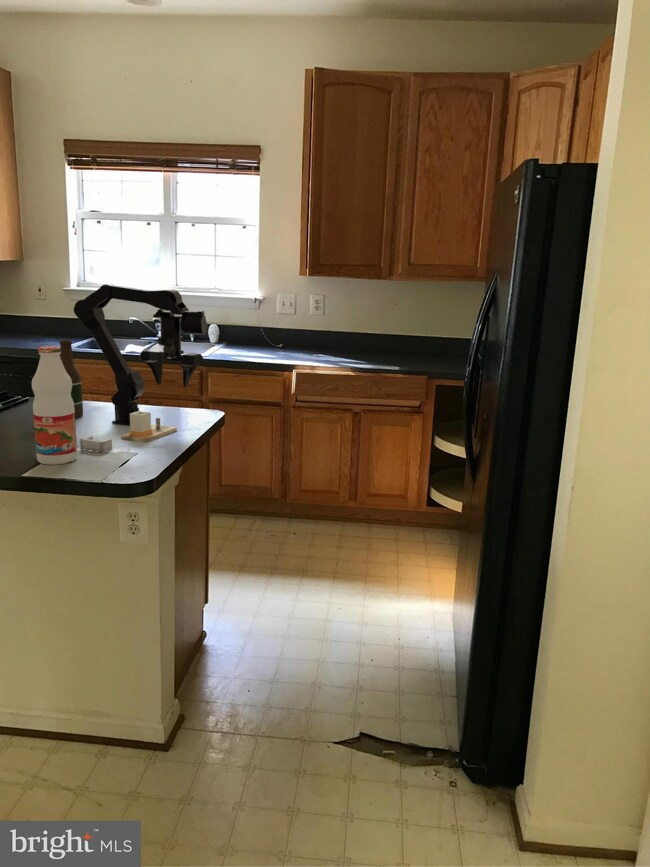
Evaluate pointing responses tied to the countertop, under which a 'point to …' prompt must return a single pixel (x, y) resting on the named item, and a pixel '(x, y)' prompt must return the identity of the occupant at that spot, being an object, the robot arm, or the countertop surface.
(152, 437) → the pin board
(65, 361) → the beer bottle
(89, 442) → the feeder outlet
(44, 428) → the fruit juice
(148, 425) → the sleeve
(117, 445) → the countertop surface
